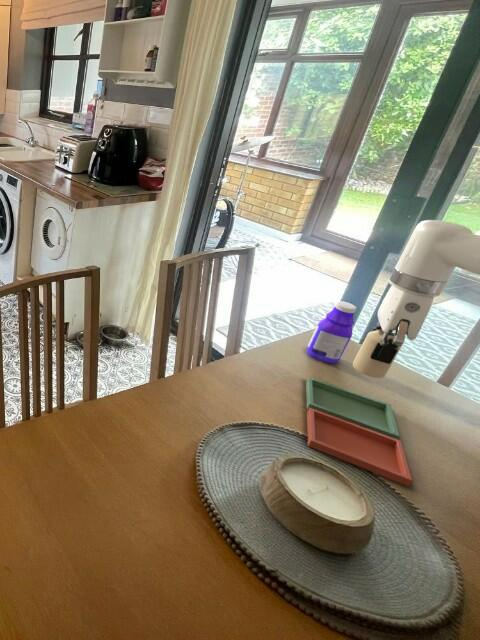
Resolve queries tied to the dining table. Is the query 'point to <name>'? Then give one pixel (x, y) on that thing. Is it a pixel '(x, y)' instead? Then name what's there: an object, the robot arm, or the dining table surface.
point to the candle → (364, 360)
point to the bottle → (332, 333)
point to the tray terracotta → (358, 446)
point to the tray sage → (351, 407)
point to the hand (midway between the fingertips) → (377, 352)
